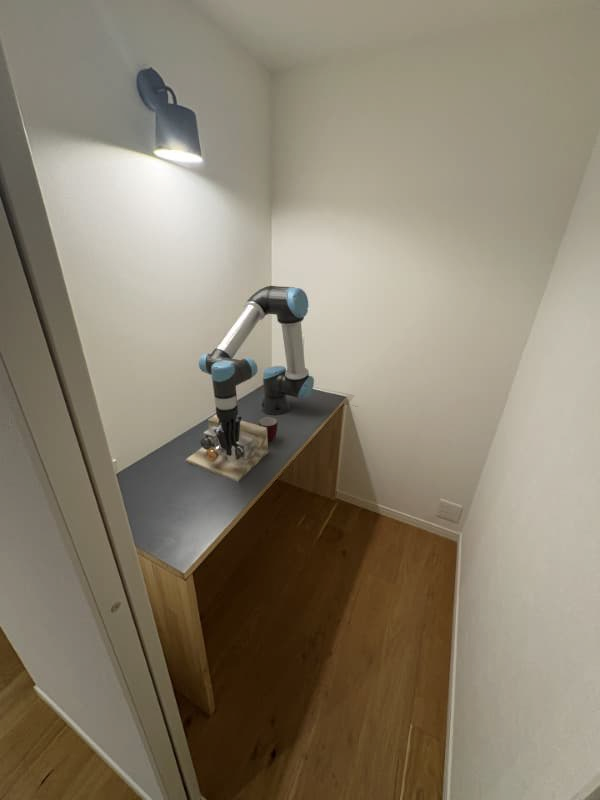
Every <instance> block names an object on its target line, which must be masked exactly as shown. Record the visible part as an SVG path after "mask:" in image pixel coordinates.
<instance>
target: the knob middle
mask: <svg viewBox="0 0 600 800" xmlns="http://www.w3.org/2000/svg"><path fill="white" fill-rule="evenodd" d="M225 450H226V449H223V448H221V445H220V444H218V445H217V446H216V447H215V448H213V449H209V450H208V451H207V452H206V457H207V458H208V459H209V460H210V461H212V462H214V461H215V460H217V459H218V456H219V455H220V454H222V453H223V452H224V451H225Z"/></svg>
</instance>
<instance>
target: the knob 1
mask: <svg viewBox="0 0 600 800" xmlns="http://www.w3.org/2000/svg"><path fill="white" fill-rule="evenodd" d="M199 444H200V445H201V448H202V447H203V448H204V449H206V450H208V449H209V448H211V447H212V444H214V437H212V436H209V437H207V438H206V437H205V438H202V439H200V443H199Z"/></svg>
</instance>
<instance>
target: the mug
mask: <svg viewBox="0 0 600 800" xmlns="http://www.w3.org/2000/svg"><path fill="white" fill-rule="evenodd" d="M258 425H259V426H263V427H266V428H267V439H268V444H272V443H273V442H274V440H275V439H276V436H277V431H278V420H277V418H275V417H273V416H266V417H265V416H264V417H262V418H260V419H259V421H258Z"/></svg>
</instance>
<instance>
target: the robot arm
mask: <svg viewBox="0 0 600 800" xmlns="http://www.w3.org/2000/svg"><path fill="white" fill-rule="evenodd" d="M243 307H244V309H243V310H242V312H241V313H240V314H239V316H238V317H237V319H235V320H234V322H233V324H232V325H231V326H230V328H229V329H228V330H227V332H226V333H225V335H224V336H223V337H222V339H221V340H220V341H219V342H218V344H217V345H216V346H215V348H214V349H213V351H212V352H211V353H203V354H202V355H201V356H200V358H199V361H198V367H199V369H200V370H201V372H203V373H205V374H208V375H210V377H211V380H212V381H211V382H212V388H213V394H214V404H215V415H217V417H218V419H219V423H218V425H219V427H218V429H215V430H214V432H215V433H216V434H217V437H218V440H219V442H220V445H221V448H223V449H226V453H227V455H228V461H231V462H235V461H236V455H235V451H236V448H235V446H237V445H238V444H237V443H236V442H238V441H239V432H240V422H241V420H242V416H240V415H239V409H238V397H237V386H239V385H241V384H243V383H244V382H246V381H248V380H251V379H252V378H253V377H255V375H257V373H258V365H257V363H256V361H255V360H254V359H252V358H250V357H245V358H242V359H236V358H234V356H235V355H236V354H237V352H238V351H239V350H240V349H241V347H242V345H243V344H244V343H245V341H246V339H247V338H248V336H249V335H250V334H251V332H253V330H254V328H255V327H256V326H257V324H258V323H259V321H262V320H263V319H264V318H265V317H266V316H267V315H274V316H275V315H276V319H277V323H279V324H280V325H281V330H282V339H283V346H284V355H285V361H286V367H285V366H283V365H282V366H281V365H275V366H270V367H267V368H265V369H264V370H263V372H262V376H263V377H262V381H263V382H262V383H263V399H262V401H261V406H260V407H261V411H262V413H265V415H271V416H278V415H283V414H286V413H288V412H289V411H290V402H289V400H288V396H290V397H295V398H297V399H305V400H306V399H307V398H309V396H310V395H311V393H312V392H313V388H314V385H315V384H314V383H315V378H314V377H313V376H311V375H310V373H309V369H307V368H306V364H305V363H306V362H305V353H304V343H303V340H304V339H303V332H302V322H303V321H304V319H305V317H306V316H307V314H308V311H309V309H308V308H309V299H308V295H307V293H306V292H305V291H304V290H303V289H302V288H300V287H295V286H277V285H267V286H265V287H262V288H261V289H258V291H256V292H255V293H253V294H252V295H251V296H250V297H249V298H248V299H247V301H246V302H245V303H244V306H243Z"/></svg>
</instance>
